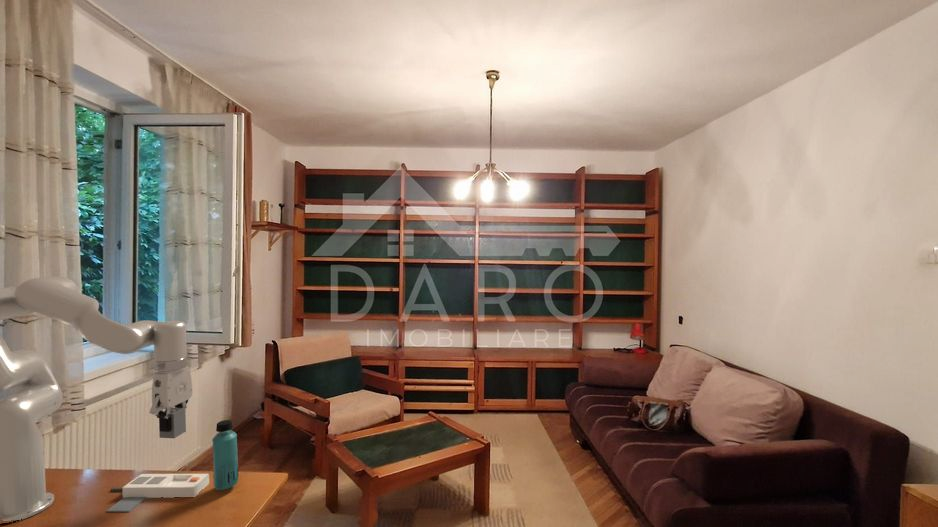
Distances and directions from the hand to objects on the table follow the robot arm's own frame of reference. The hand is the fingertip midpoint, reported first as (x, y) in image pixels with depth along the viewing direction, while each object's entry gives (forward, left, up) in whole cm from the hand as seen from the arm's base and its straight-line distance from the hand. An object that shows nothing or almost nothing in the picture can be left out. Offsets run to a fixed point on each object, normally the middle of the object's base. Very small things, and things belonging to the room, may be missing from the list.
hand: (172, 426), depth 121 cm
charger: (0, 0, -2) cm, 2 cm away
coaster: (-4, -10, -19) cm, 22 cm away
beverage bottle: (+12, +8, -19) cm, 24 cm away
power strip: (-5, -2, -19) cm, 20 cm away
